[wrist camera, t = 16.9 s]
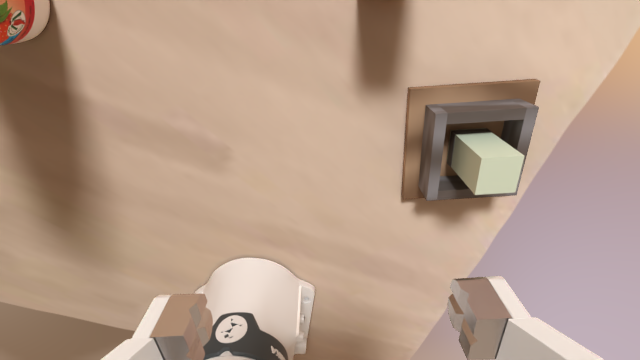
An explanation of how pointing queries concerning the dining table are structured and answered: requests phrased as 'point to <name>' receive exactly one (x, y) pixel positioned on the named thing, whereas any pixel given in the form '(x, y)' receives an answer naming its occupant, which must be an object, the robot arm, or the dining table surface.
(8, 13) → the fruit juice
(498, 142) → the sage peg
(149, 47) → the dining table surface
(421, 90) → the socket board
